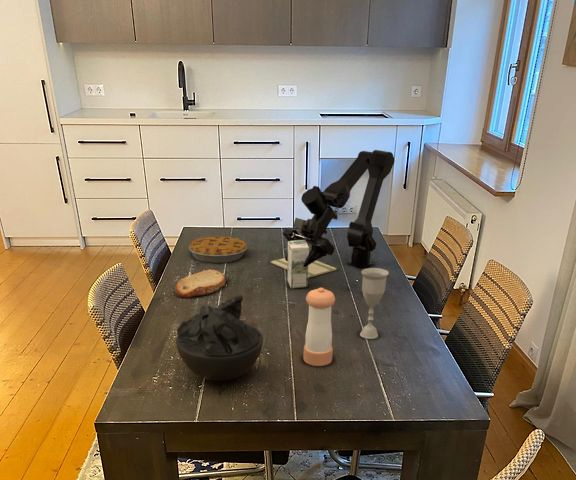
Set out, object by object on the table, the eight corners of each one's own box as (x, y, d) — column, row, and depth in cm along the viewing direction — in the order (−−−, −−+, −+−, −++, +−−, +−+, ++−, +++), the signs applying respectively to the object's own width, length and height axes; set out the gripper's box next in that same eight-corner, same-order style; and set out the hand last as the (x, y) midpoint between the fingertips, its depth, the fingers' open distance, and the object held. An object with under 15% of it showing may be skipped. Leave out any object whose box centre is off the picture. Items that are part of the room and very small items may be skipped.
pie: (245, 265, 210) (245, 251, 208) (184, 263, 210) (183, 250, 208) (249, 246, 229) (249, 234, 227) (193, 245, 229) (193, 232, 227)
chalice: (364, 342, 158) (370, 278, 149) (351, 332, 163) (356, 270, 154) (387, 337, 161) (394, 274, 152) (372, 327, 166) (379, 266, 157)
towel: (299, 255, 221) (300, 253, 220) (336, 269, 207) (336, 268, 207) (270, 262, 213) (270, 261, 212) (307, 278, 200) (307, 276, 199)
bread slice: (221, 274, 201) (221, 264, 199) (234, 293, 186) (234, 282, 184) (169, 279, 196) (168, 269, 194) (178, 299, 181) (177, 288, 179)
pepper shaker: (299, 363, 147) (301, 291, 137) (308, 350, 153) (311, 281, 143) (327, 368, 145) (331, 295, 135) (335, 355, 151) (340, 285, 141)
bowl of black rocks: (192, 404, 129) (186, 326, 120) (170, 364, 145) (163, 293, 135) (275, 387, 136) (276, 312, 127) (246, 351, 152) (245, 282, 142)
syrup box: (303, 279, 196) (304, 238, 187) (307, 287, 191) (309, 246, 183) (287, 281, 195) (287, 240, 186) (290, 289, 190) (291, 247, 182)
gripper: (286, 202, 188) (261, 243, 187) (330, 213, 177) (304, 257, 176) (303, 222, 197) (279, 261, 196) (345, 234, 186) (320, 275, 184)
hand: (294, 263), depth 188 cm, fingers closed on syrup box, 8 cm apart
